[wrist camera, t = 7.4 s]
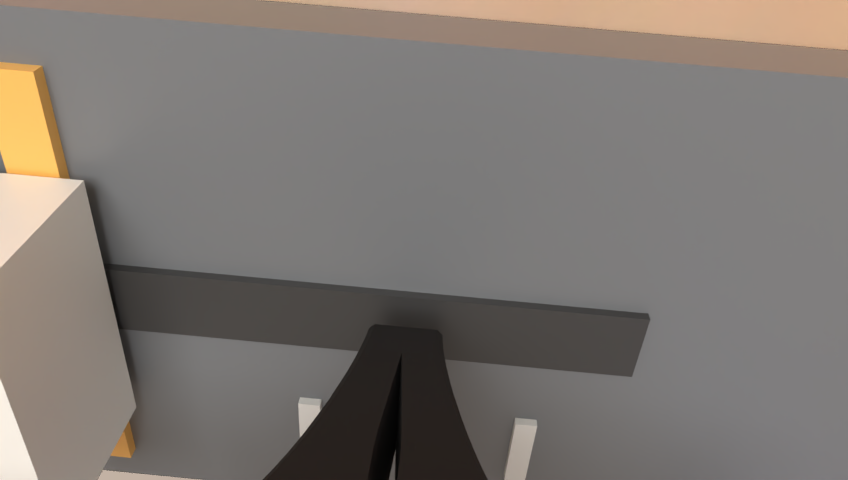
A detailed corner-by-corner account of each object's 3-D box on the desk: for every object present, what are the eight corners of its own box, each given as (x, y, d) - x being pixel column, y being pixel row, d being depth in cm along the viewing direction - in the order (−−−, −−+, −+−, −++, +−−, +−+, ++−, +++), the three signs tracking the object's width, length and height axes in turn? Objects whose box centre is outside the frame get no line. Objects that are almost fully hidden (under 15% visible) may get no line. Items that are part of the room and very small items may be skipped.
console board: (796, 489, 19) (823, 550, 18) (-208, 393, 20) (-264, 444, 18) (1038, 66, 13) (1112, 106, 11) (-488, -64, 13) (-613, -42, 12)
